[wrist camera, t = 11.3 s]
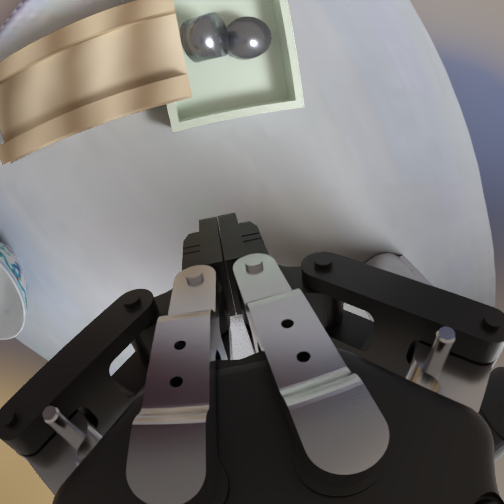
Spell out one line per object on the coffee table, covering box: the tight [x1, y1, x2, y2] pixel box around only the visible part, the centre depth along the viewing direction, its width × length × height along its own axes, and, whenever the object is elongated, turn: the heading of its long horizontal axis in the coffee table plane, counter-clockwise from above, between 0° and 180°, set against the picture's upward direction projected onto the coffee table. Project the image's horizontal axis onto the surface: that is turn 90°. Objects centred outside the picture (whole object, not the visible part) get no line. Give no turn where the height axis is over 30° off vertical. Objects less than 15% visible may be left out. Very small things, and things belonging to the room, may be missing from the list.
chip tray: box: [166, 0, 304, 132], centre depth 25 cm, size 13×16×3 cm
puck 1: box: [180, 12, 229, 63], centre depth 22 cm, size 4×4×2 cm
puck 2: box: [227, 16, 271, 60], centre depth 25 cm, size 4×4×2 cm
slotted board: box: [0, 0, 192, 165], centre depth 22 cm, size 18×10×8 cm, turn 99°
